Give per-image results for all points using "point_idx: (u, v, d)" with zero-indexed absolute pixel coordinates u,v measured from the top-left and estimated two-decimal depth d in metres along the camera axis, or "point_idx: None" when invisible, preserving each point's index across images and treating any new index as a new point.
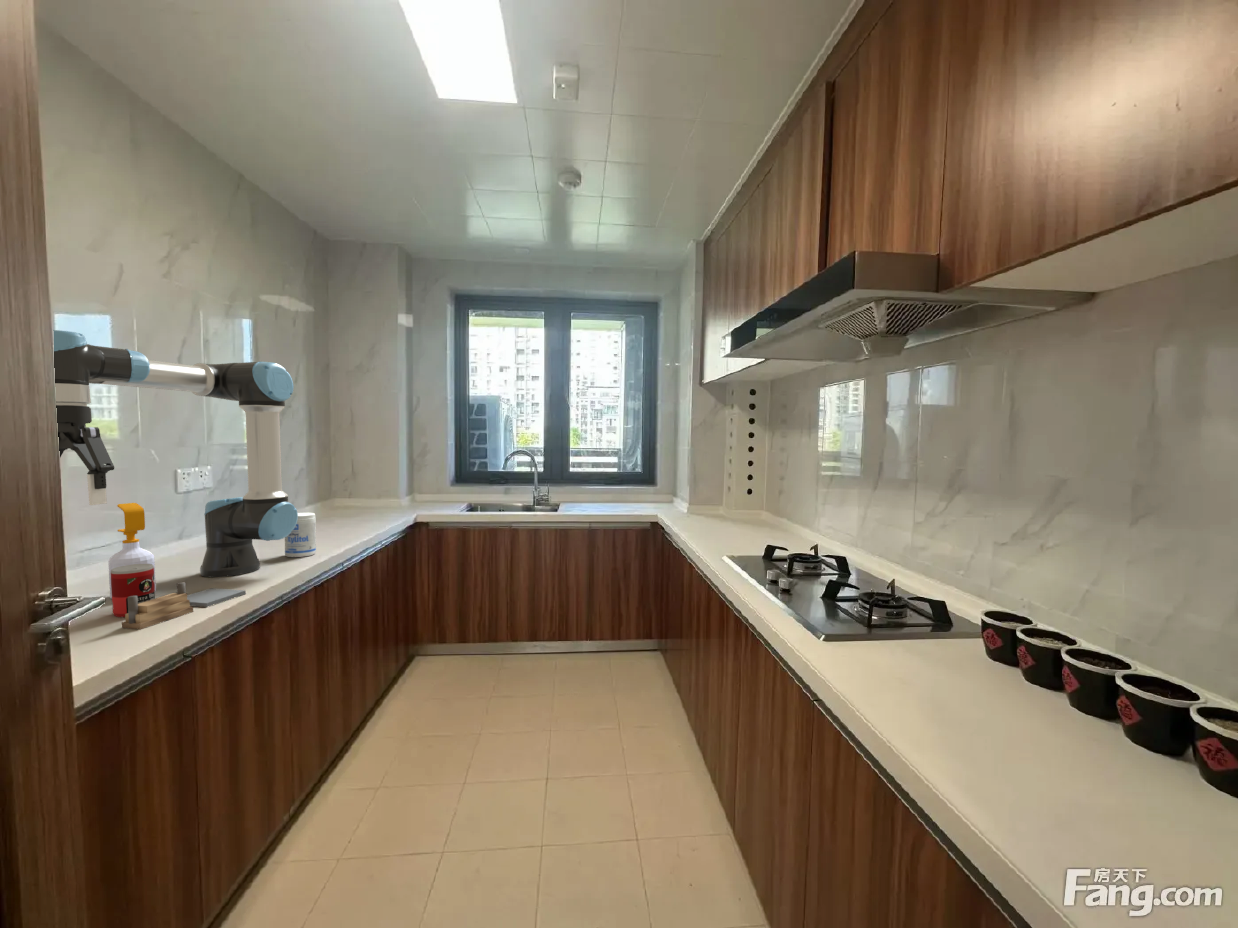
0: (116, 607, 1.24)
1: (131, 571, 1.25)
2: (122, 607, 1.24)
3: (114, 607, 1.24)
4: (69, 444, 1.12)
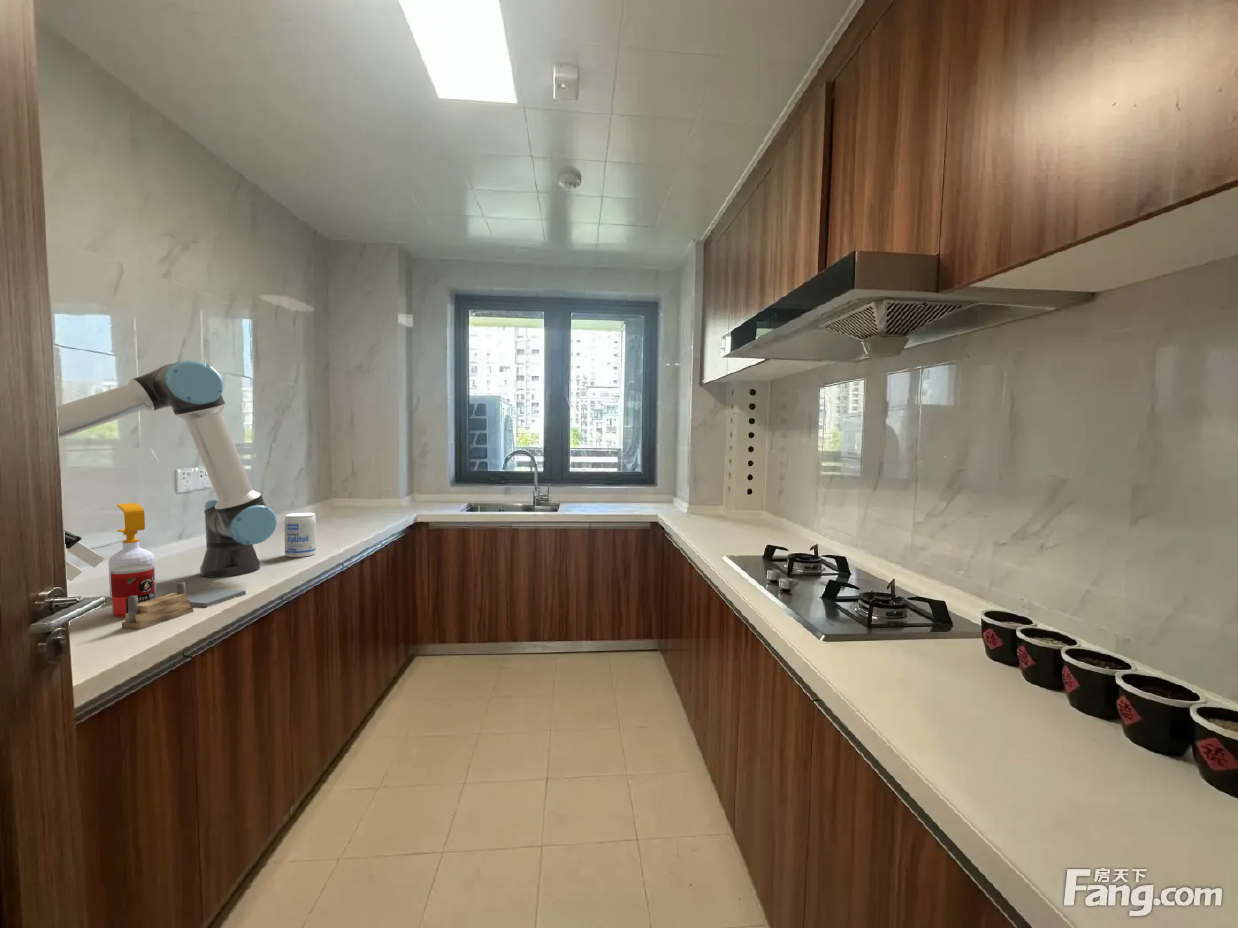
0: (116, 607, 1.24)
1: (131, 571, 1.25)
2: (122, 607, 1.24)
3: (114, 607, 1.24)
4: None
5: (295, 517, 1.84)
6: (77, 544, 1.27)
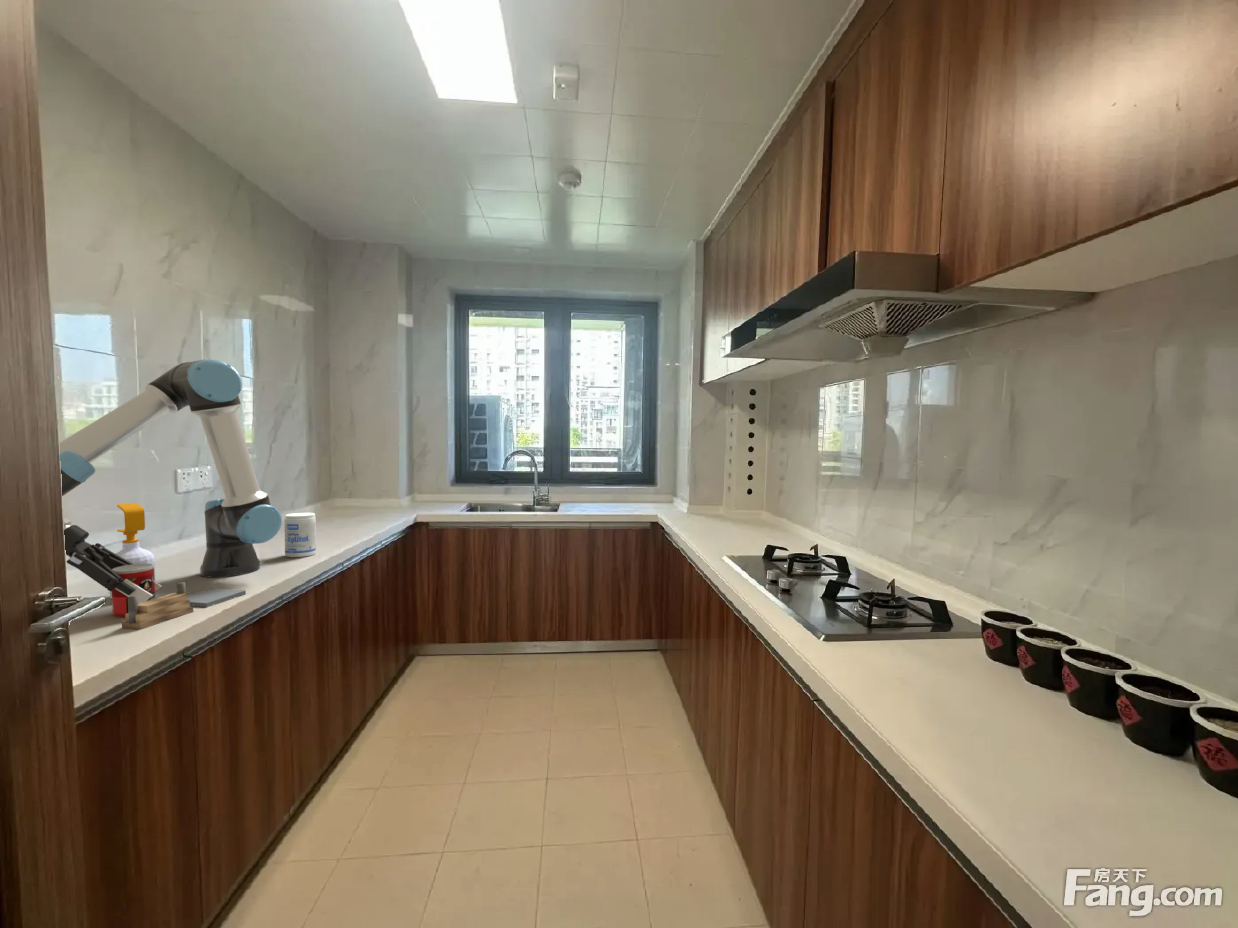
0: (116, 606, 1.24)
1: (131, 571, 1.25)
2: (122, 607, 1.24)
3: (115, 607, 1.24)
4: None
5: (295, 517, 1.84)
6: None
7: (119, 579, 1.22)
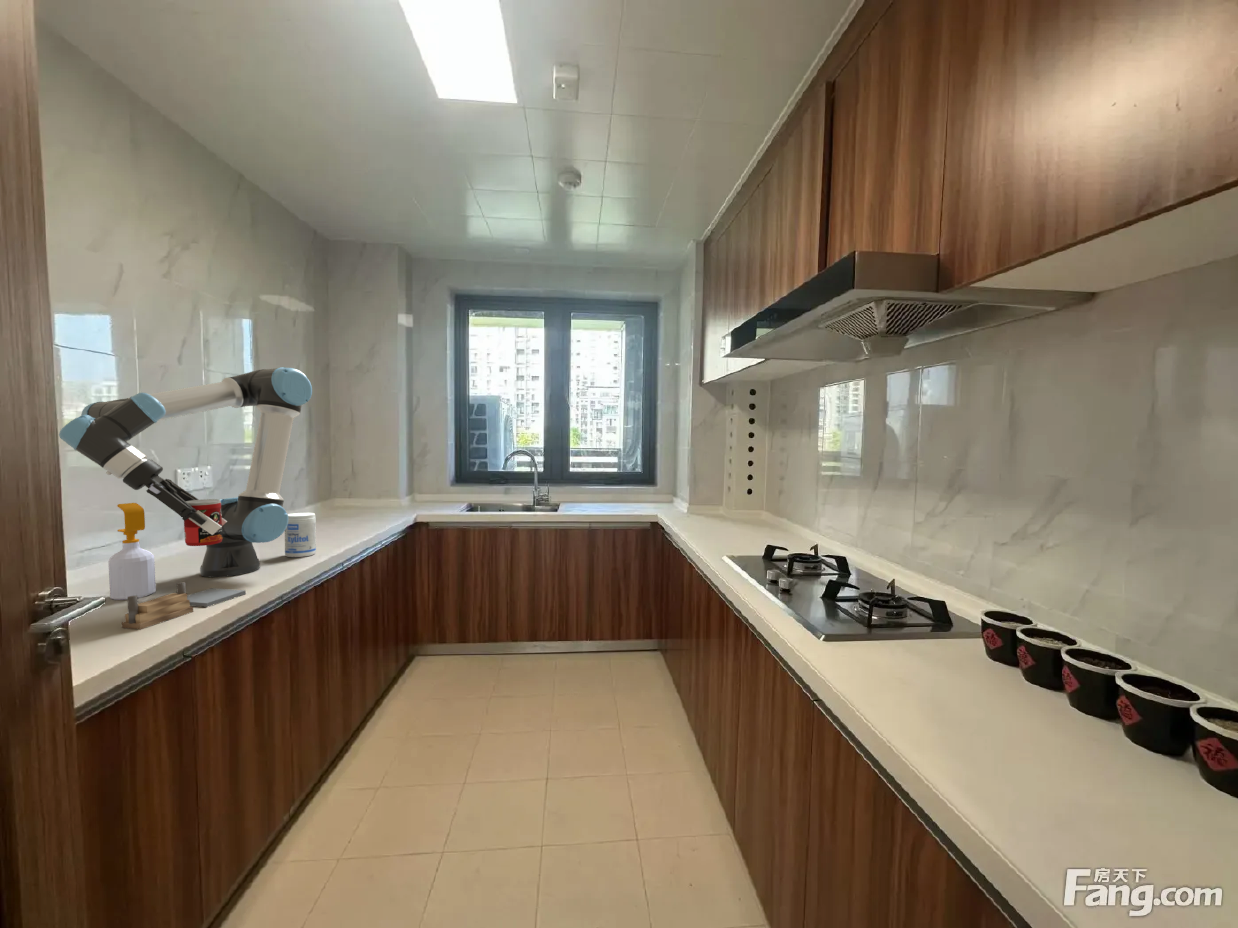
0: (189, 536, 1.33)
1: (202, 503, 1.34)
2: (194, 536, 1.33)
3: (187, 537, 1.34)
4: None
5: (295, 517, 1.84)
6: None
7: (192, 509, 1.31)
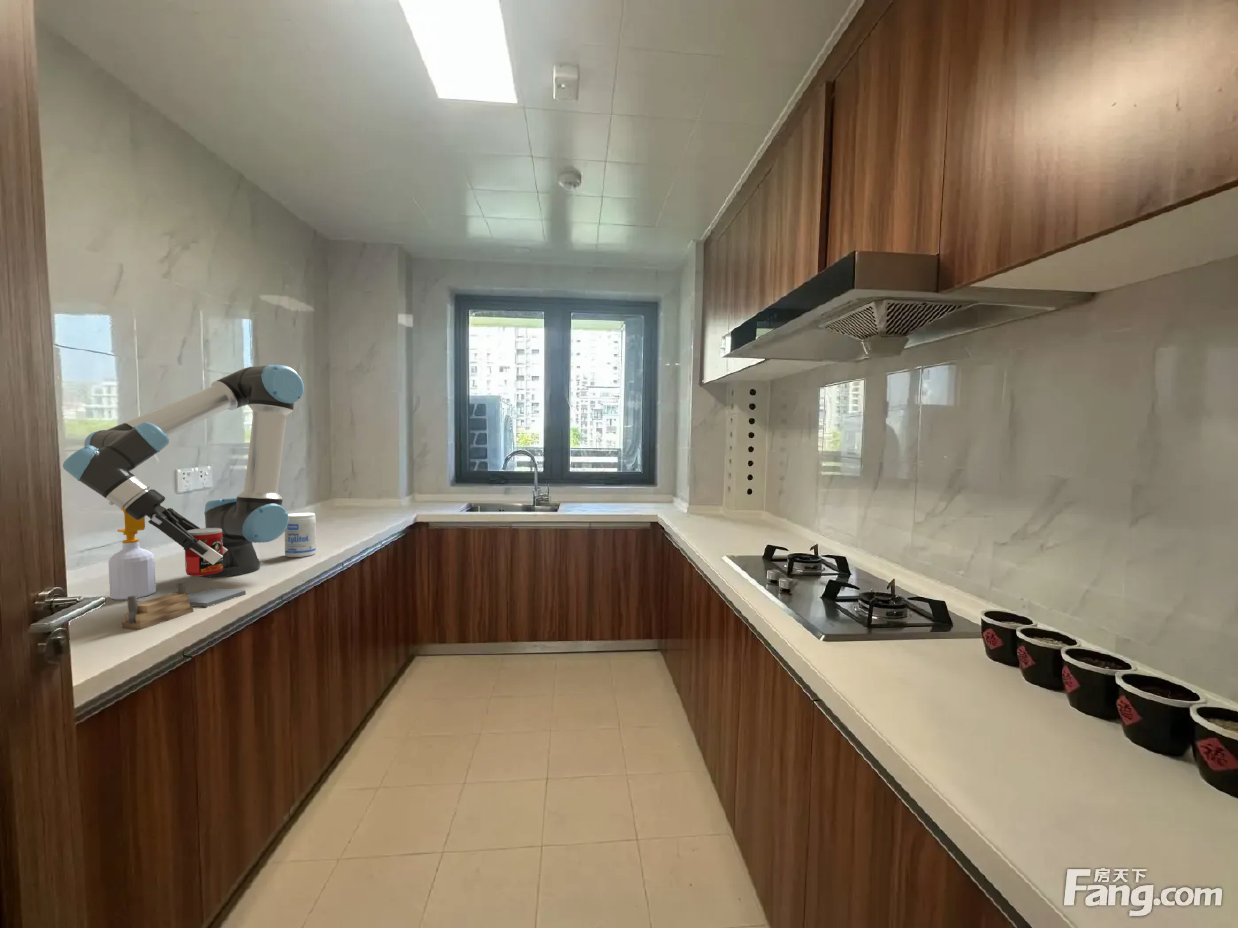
0: (189, 566, 1.34)
1: (204, 533, 1.34)
2: (195, 566, 1.33)
3: (188, 566, 1.34)
4: None
5: (295, 517, 1.84)
6: None
7: (194, 540, 1.31)
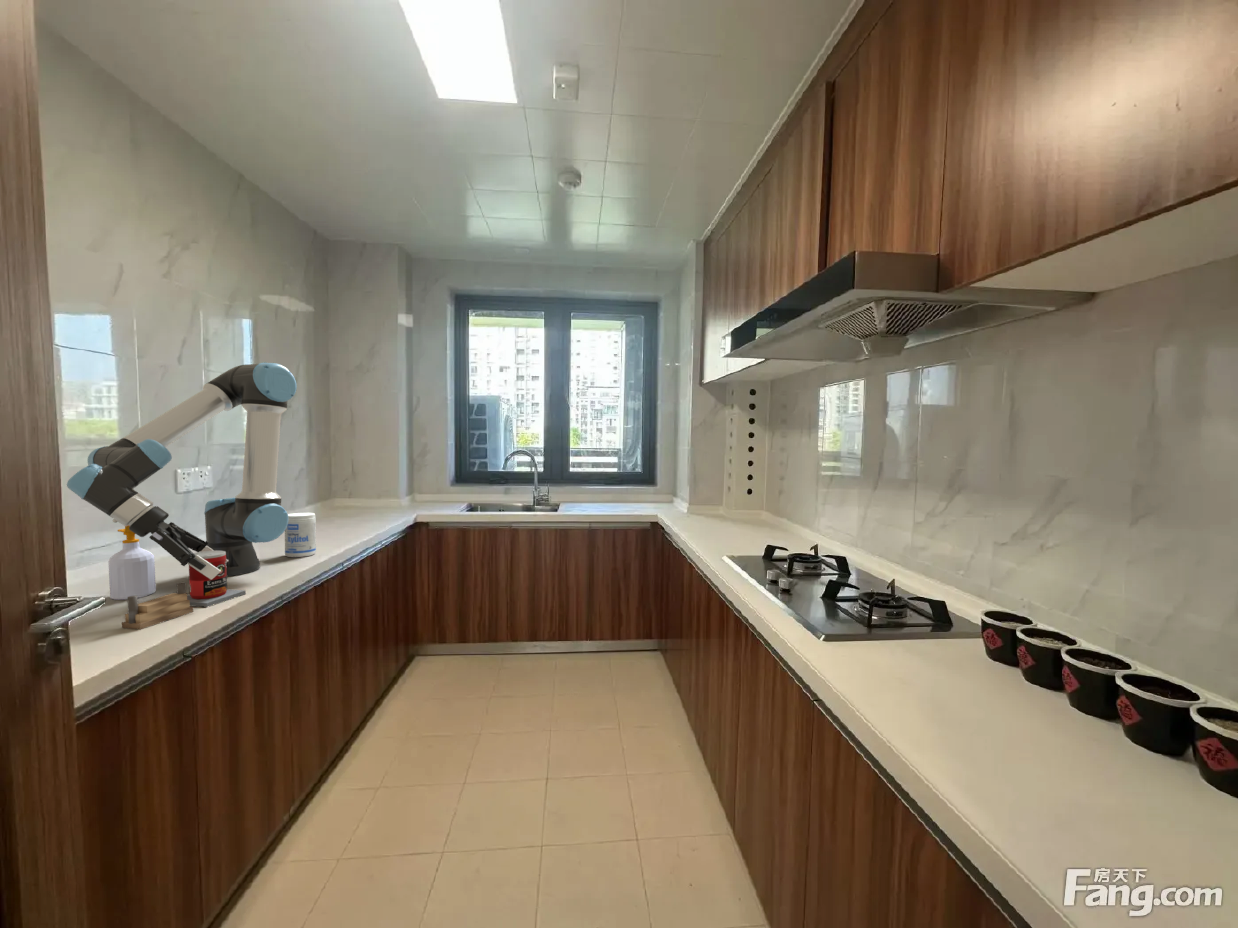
0: (194, 589, 1.35)
1: (208, 556, 1.35)
2: (199, 589, 1.34)
3: (192, 590, 1.35)
4: None
5: (295, 517, 1.84)
6: (206, 548, 1.42)
7: (191, 554, 1.30)
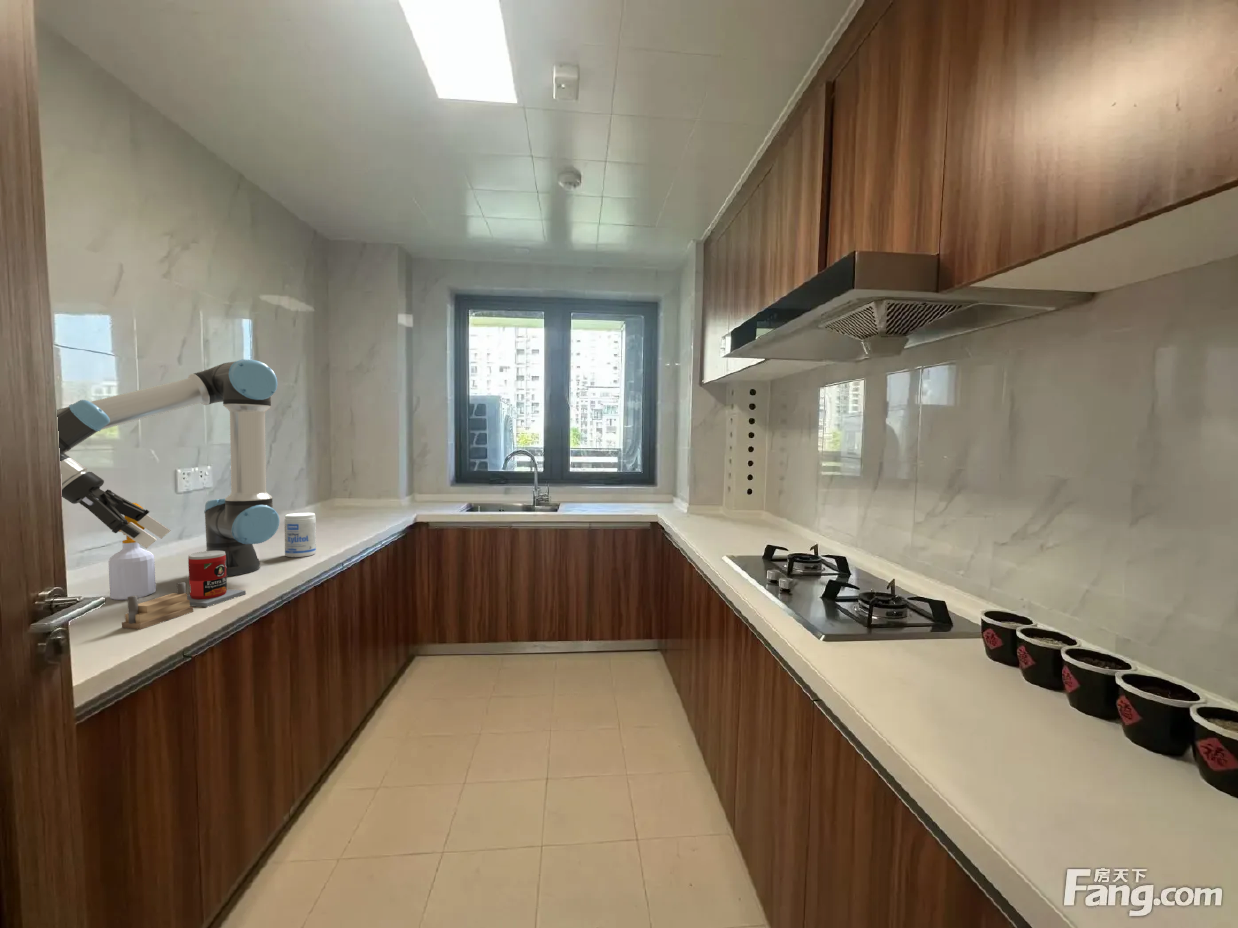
0: (194, 589, 1.35)
1: (207, 557, 1.35)
2: (199, 590, 1.34)
3: (192, 590, 1.35)
4: None
5: (295, 517, 1.84)
6: (146, 517, 1.36)
7: (123, 521, 1.23)
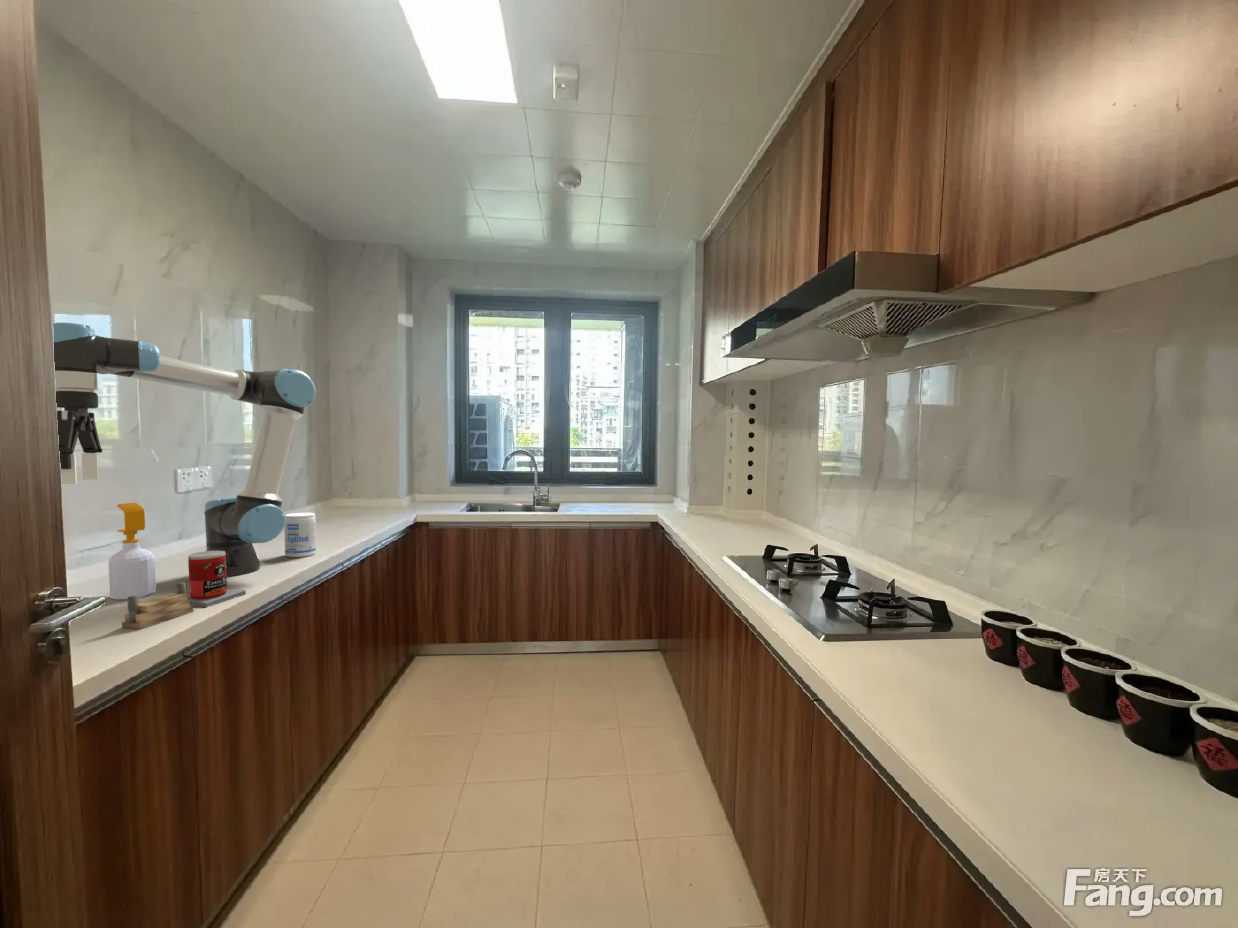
0: (194, 589, 1.35)
1: (207, 557, 1.35)
2: (199, 590, 1.34)
3: (192, 590, 1.35)
4: None
5: (295, 517, 1.84)
6: (94, 454, 1.31)
7: (70, 451, 1.18)
